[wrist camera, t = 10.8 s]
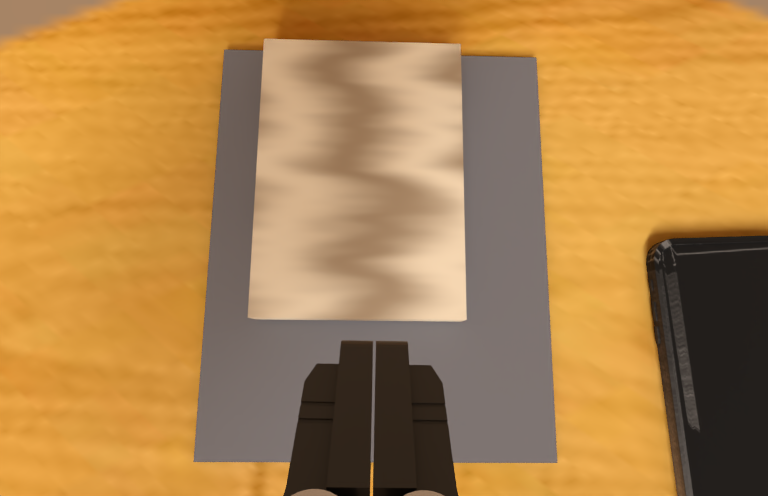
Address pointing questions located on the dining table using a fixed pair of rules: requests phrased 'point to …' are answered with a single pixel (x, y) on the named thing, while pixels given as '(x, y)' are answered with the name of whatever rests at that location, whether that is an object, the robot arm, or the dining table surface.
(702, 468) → the phone
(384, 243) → the placard
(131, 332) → the dining table surface
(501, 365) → the mat
